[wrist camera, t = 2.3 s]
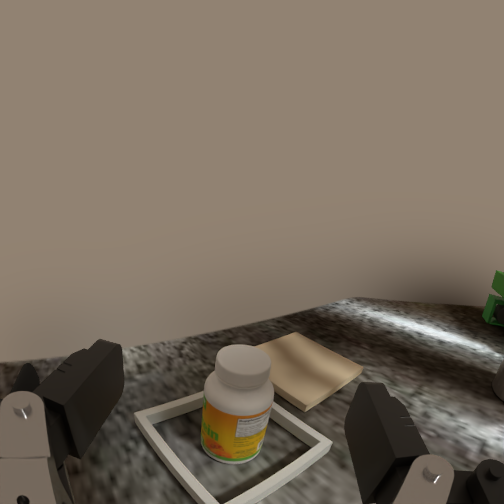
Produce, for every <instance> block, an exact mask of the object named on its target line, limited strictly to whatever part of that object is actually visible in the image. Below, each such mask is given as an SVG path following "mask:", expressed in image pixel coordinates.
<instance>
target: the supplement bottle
mask: <svg viewBox="0 0 504 504" xmlns="http://www.w3.org/2000/svg"><path fill="white" fill-rule="evenodd" d="M270 369H271V359H270V357H269V355H268V354H267V353H265V352H264V351H262V350H261V349H259V348H256V347H253V346H249V345H230V346H226V347H224V348H222V349H221V350H220V351H219V352H218V353H217V356H216V363H215V371H213V372H212V373H211V374H210V375H209V376H208V378H207V379H206V382H205V385H204V396H203V412H202V426H201V445H202V447H203V449H204V451H205V452H206V453H207V454H208V455H209V456H210V457H212V458H213V459H215V460H217V461H219V462H222V463H226V464H241V463H245V462H248V461H250V460H252V459H253V458H254V457H256V456H257V454H258V453H259V452H260V449H261V447H262V443H263V440H264V435H265V432H266V428H267V424H268V420H269V415H270V411H271V407H272V403H273V399H274V388H273V385H272V383H271V381H270V380H269V376H270Z"/></svg>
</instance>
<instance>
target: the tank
mask: <svg viewBox="0 0 504 504" xmlns="http://www.w3.org/2000/svg"><path fill="white" fill-rule="evenodd" d="M492 288H493V289H494V290H495V291H496V292H497V293H499V294H500V295H501V296H502V297H499V296H495V295H491V294H489V297H488V300H487V303H486V306H485V309H484V312H483V315H482V317H483V318H484V320H485V321H486V322H487V323H489V324H492V325H497V326H502V327H504V272H500V271H496V273H495V277H494V280H493V283H492ZM496 304H498V305H497V306H496ZM493 315H494V317H495V318H493V317H492V316H493Z"/></svg>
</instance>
